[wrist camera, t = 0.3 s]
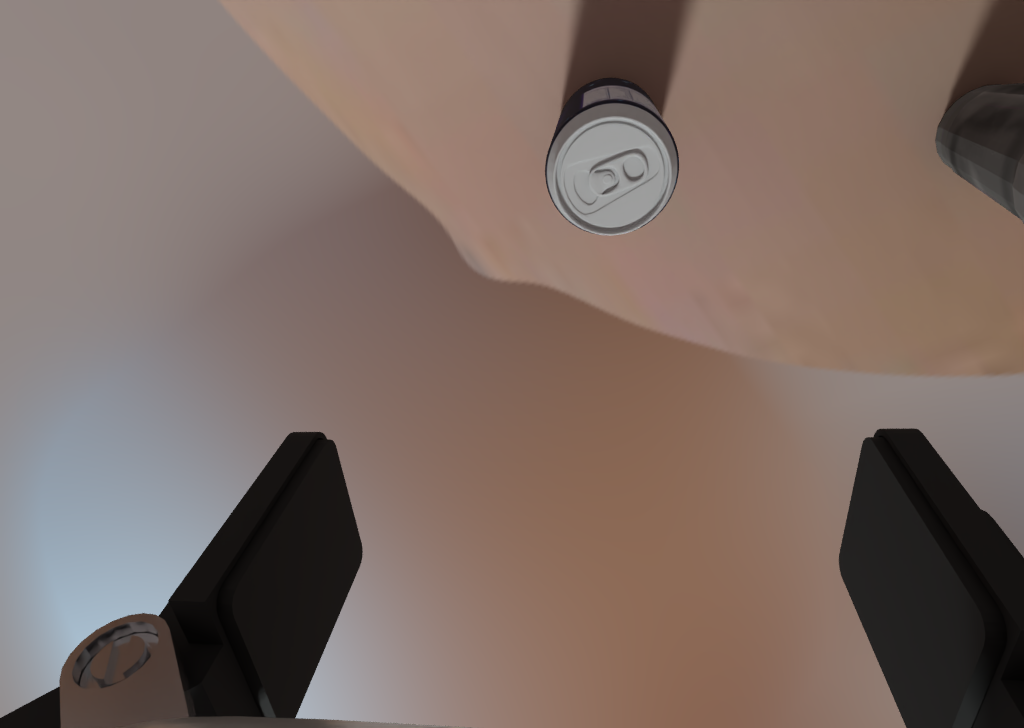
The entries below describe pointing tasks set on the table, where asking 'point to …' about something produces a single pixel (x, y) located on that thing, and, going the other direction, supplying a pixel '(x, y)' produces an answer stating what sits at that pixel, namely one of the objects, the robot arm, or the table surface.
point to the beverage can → (611, 159)
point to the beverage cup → (988, 142)
